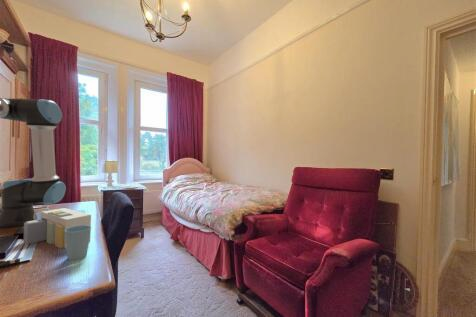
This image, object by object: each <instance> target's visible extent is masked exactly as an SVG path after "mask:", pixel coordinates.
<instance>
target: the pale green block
mask: <svg viewBox="0 0 476 317" xmlns="http://www.w3.org/2000/svg"><path fill="white" fill-rule="evenodd" d="M46 243H47V244H50V245H53V244H54V245H55V222H53V221H51V222H49V223H47V240H46Z"/></svg>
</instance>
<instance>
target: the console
mask: <svg viewBox="0 0 476 317" xmlns="http://www.w3.org/2000/svg"><path fill="white" fill-rule="evenodd" d="M42 219H47V223H49V222H51V221H53V222H55V242H56V226H58V225H60V224H62V225H65V230H66V229H67V228H70V227H74V226H81V225H88V226H91V225H92V214H89V213H86V212H83V211H82V212H81V211H78V210H73V209H72V208H71V209H70V208H67V207H60V208H56V209H55V208H54V209H51V210H48V211H46V210H41V211H40V220H42ZM91 227H92V226H91ZM65 230H64V247H63V248H65V249H67V247H66V238H65ZM90 235H92V234H91V231H90ZM89 242H91V236H90V237H89Z"/></svg>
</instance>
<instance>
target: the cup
mask: <svg viewBox="0 0 476 317" xmlns="http://www.w3.org/2000/svg"><path fill="white" fill-rule="evenodd" d="M91 230H92V226H88V225H81V226H74V227H70V228H67V229H66V230H65V238H66V247H67V248H66V254H67V255H66V256H67V259H68V260H70V261H77V260H81V259H83V258H85V257H87V255H88V249H89V242H90V241H89V237H90V238H91V234H90V231H91Z"/></svg>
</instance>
